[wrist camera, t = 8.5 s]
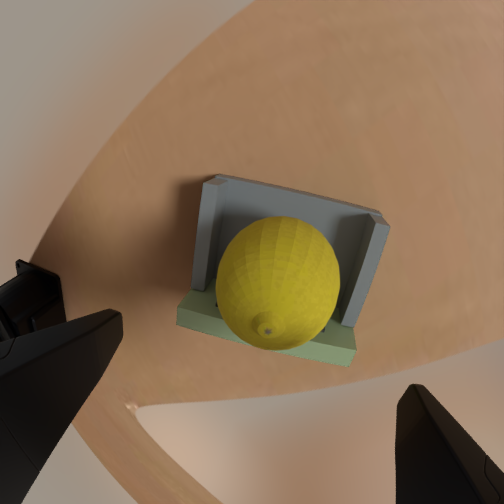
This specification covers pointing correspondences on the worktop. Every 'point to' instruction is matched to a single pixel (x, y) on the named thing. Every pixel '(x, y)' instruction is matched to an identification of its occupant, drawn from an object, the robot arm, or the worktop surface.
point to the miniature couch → (297, 206)
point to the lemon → (277, 283)
